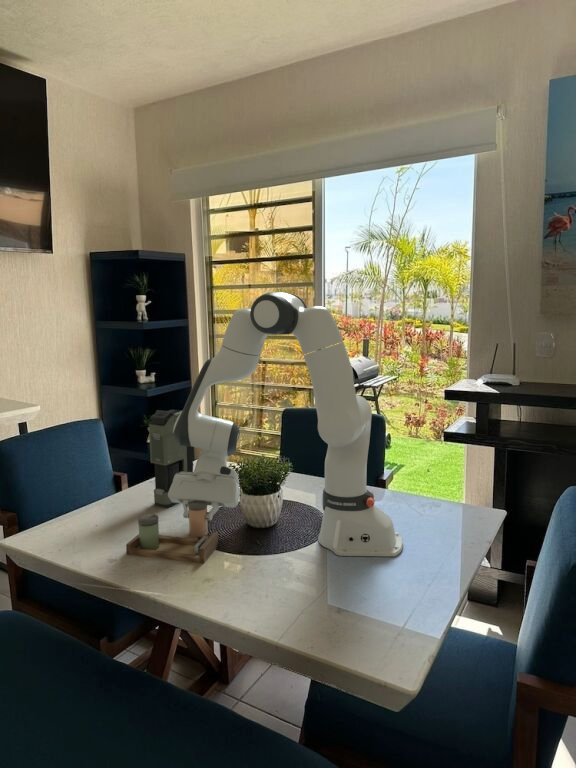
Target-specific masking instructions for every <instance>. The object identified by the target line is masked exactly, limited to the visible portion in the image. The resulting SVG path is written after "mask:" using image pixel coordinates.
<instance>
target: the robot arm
mask: <svg viewBox="0 0 576 768" xmlns="http://www.w3.org/2000/svg"><path fill="white" fill-rule="evenodd" d="M306 304H307V303H305V301H304V300H303V299H302V298H301V297H299V296H298V295H295V294H293V293H287V292H284V291H283V292H282V291H277V292H276V291H275V292H266V293H263V294H261V295H260V296H258V297H257V298H256V299H255V300H254V301H253V302H252V305H251V307H250V308H240V309H237V310H236V311H235V312H234V313H232V315H231V317H230V319H229V322H228V325H227V327H226V329H225V332H224V335H223V338H222V342H221V346H220V349H219V350H218V352H217V353H216V355H215V356H214V357H213V358H210V359H209V358H208V359H206V361H205V362H204V363H203V365H202V366H201V369H200V371H199V373H198V375H197V377H196V379H195V381H194V384H193V385H192V388H191V391H190V393H189V395H188V397H187V399H186V402H185V404H184V407H183V409H182V410H181V411H182V412H181V413H180V415H179V416H178V418H177V420H176V422H175V424H174V428H173V436H174V438H175V439H176V441H177V442H178V443H179V444H180V445H182V446H189V447H193V448H196V449H200V455H199V456H198V458H197V460H196V463H195V467H194V469H193V472H184V471H181V472H180V473H177V474H175V476H174V479H173V483H172V485H171V487H170V489H169V492H168V497H169V499H170V500H171V501H172V502H175V503H178V504H182V507H183V510H184V511H183V514H182V515H183V518H184V519H189V508H188V503H189V502H191V501H205V502H207V506H209V507H210V506H211V507H212V508H211V509H210V510H209V511H207V512H206V516H205V519H206V520H207V521H212V520H213V517H214V515H215V514H216V513H217V512H218V511H219V509H220V507H224V508H232V509H233V508H237V506H238V504H239V502H240V501H239V500H240V494H241V493H240V487H239V484H240V482H239V480H240V478H239V477H240V476H239V475H238V473H237V472H236V470H235V469H234V468H232V467H229V466H227V465H228V464H227V461H228V458H229V457H230V456H232V455H234V453H236V451H237V444H238V441H239V438H240V435H241V431H240V429H239V427H238V425H237V424H236V423H235V422H233V421H231V420H229V419H225V418H220V417H215V416H211V415H207V414H203V413H201V412H199V408H200V406H201V404H202V402H203V399H204V397H205V395H206V393H207V390H208V389H209V388H210V387H211V386H213V385H216V384H221V383H229V382H237V381H242V380H245V379H246V378H249V377H250V376H251V375H253V374H254V372H256V369H257V366H258V365H259V361H260V358H261V354H262V351H263V347H264V344H265V341H266V339H267V337H268V336H278V335H279V336H281V335H282V336H283V335H285V336H286V335H287V336H289V335H293V336H294V337H295V338H296V339H297V341H298V343H299V347H300V349H301V352H302V355H303V359H304V362H305V365H306V368H307V372H308V374H309V378H310V380H311V385H312V389H313V395H314V401H315V402H314V403H315V409H316V415H317V431H318V435H319V436H320V438H321V439H322V440H323V442H324V443H326V444H327V449H326V456H325V460H324V487H323V490H322V497H321V499H322V500H321V501H322V503H321V504H322V505H321V506H322V511H323V512H322V513H323V514H322V522H321V526H320V530H319V534H318V537H317V541H318V542H319V544H320V545H321V546H323V547H324V548H326V549H328V550H331V552H332V553H334V554H335V555H337V556H339V557H396V556H398V555H399V554H401V552H402V550H403V548H404V543H403V537H402V535H401V534H400V533H399V532H398V531H395V527H394V523H393V520H392V517H390V515H389V514H387V513H385V511H383V510H382V509H380V507H378V506H377V505H375V502H376V501H375V495H374V491H373V490H371V492H370V490H369V489H367V466H368V465H367V464H368V455H369V447H370V439H371V438H370V437H371V430H372V429H371V428H372V417H373V416H372V415H373V411H372V410H373V409H372V406H371V403H370V402H369V401H368V400H367V399H366V398H365V397H363V396H361V395H359V394H356V387H355V383H354V381H355V380H354V371H353V370H354V369H353V366H352V363H351V361H350V358H349V357H350V356H349V354H348V352H347V348H346V345H345V342H344V339H343V335H342V333H341V331H340V328H339V326H338V325H337V323H336V319H335V317H334V316H333V315H332V313H331V311H330V310H329V309H328V308H326V307H324V306H321V305H319V306H318V305H315V306H310V307H307V305H306ZM238 478H239V479H238Z"/></svg>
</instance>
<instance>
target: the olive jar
mask: <svg viewBox="0 0 576 768" xmlns="http://www.w3.org/2000/svg"><path fill="white" fill-rule="evenodd" d="M159 521H160V519H159V515H157V514H144V515H141V516H139V517H138V519H137V523H138V534H139V544H140V549H148V550H157V549H158V548H159V535H160V529H159V528H160V527H159Z"/></svg>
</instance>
